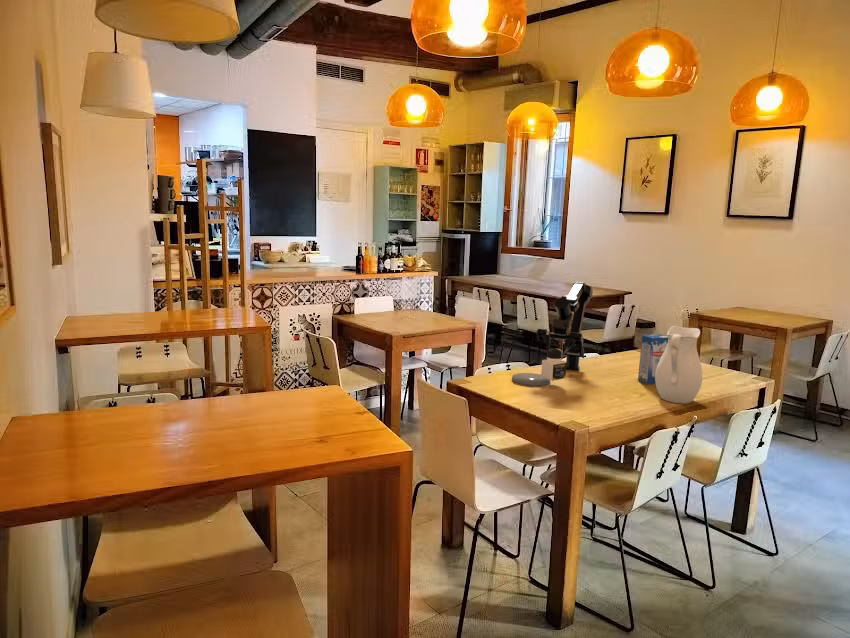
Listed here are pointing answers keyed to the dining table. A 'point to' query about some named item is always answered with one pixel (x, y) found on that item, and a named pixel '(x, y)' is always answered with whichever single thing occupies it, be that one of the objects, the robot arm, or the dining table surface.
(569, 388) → the dining table surface
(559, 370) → the medicine bottle
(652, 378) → the milk carton
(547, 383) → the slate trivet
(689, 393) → the pitcher
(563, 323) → the robot arm
